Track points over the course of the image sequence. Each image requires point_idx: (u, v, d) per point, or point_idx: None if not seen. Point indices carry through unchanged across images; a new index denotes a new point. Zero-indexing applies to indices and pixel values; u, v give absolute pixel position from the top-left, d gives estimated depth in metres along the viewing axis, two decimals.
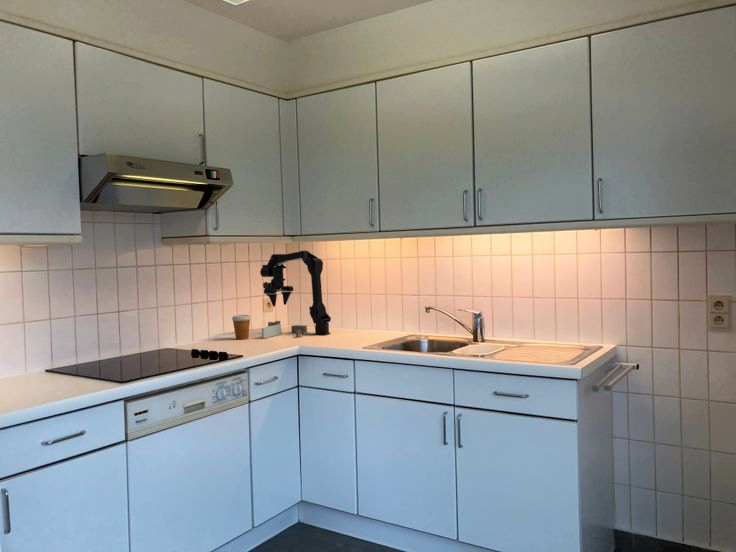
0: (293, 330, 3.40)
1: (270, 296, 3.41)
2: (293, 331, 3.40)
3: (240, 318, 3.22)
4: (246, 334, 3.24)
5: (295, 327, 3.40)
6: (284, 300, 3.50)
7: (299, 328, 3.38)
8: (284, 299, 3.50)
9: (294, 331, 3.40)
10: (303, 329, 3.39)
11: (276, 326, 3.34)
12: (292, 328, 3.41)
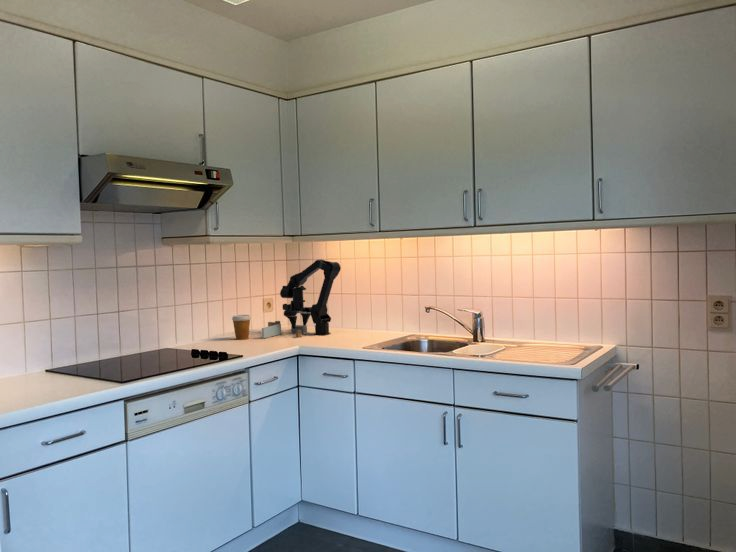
0: (293, 330, 3.40)
1: (290, 318, 3.36)
2: (293, 331, 3.40)
3: (240, 318, 3.22)
4: (246, 334, 3.24)
5: (295, 327, 3.39)
6: (304, 322, 3.45)
7: (299, 328, 3.38)
8: (304, 321, 3.45)
9: (294, 331, 3.40)
10: (303, 329, 3.39)
11: (276, 326, 3.34)
12: (292, 328, 3.40)
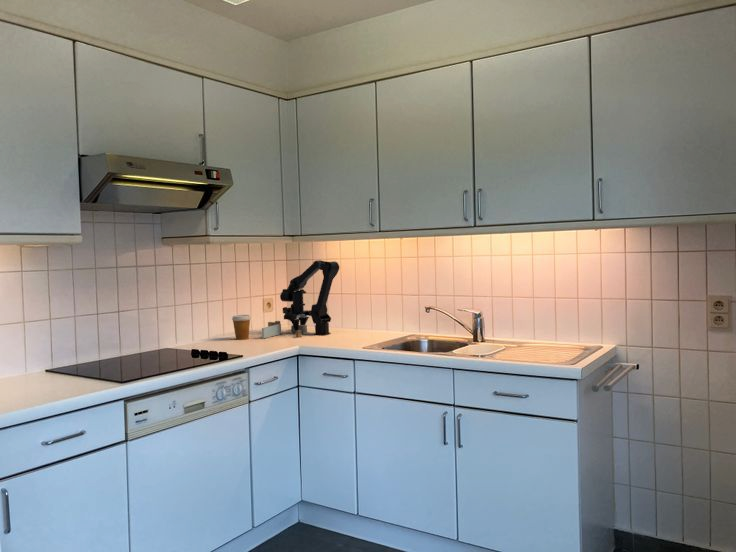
0: (293, 330, 3.40)
1: (292, 321, 3.38)
2: (293, 331, 3.40)
3: (240, 318, 3.22)
4: (246, 334, 3.24)
5: None
6: None
7: (299, 328, 3.38)
8: (301, 324, 3.43)
9: (294, 331, 3.40)
10: (303, 329, 3.39)
11: (276, 326, 3.34)
12: (292, 328, 3.40)
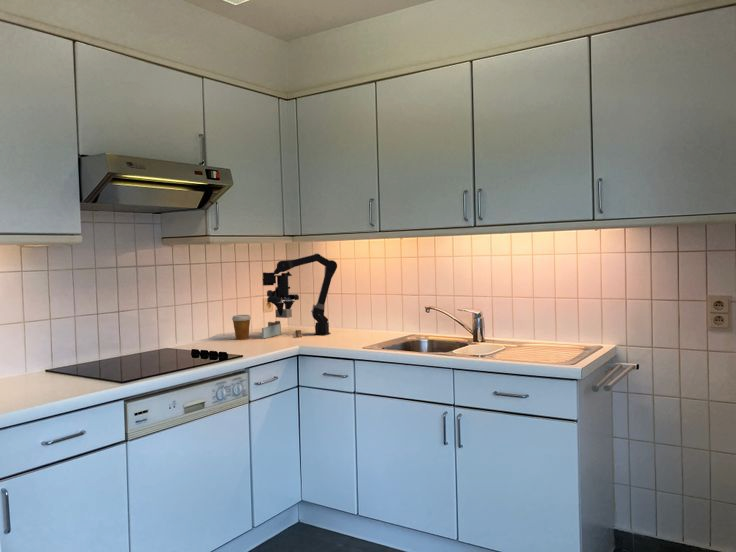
0: (277, 314, 3.27)
1: (277, 305, 3.25)
2: (277, 315, 3.27)
3: (240, 318, 3.22)
4: (246, 334, 3.24)
5: None
6: None
7: (284, 312, 3.25)
8: None
9: (278, 315, 3.27)
10: (288, 313, 3.26)
11: (276, 326, 3.34)
12: (276, 312, 3.28)
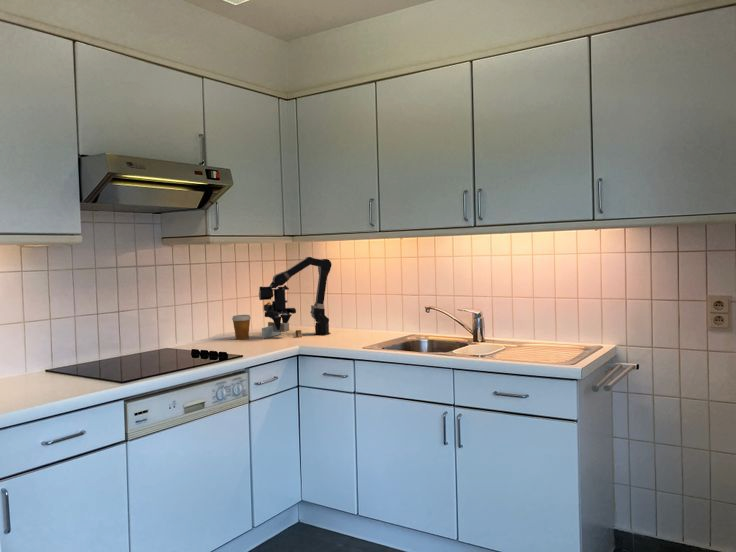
0: (274, 328, 3.24)
1: (274, 319, 3.22)
2: (274, 329, 3.24)
3: (240, 318, 3.22)
4: (246, 334, 3.24)
5: None
6: None
7: (281, 326, 3.22)
8: (283, 322, 3.27)
9: (276, 329, 3.24)
10: (285, 327, 3.23)
11: None
12: (273, 326, 3.24)
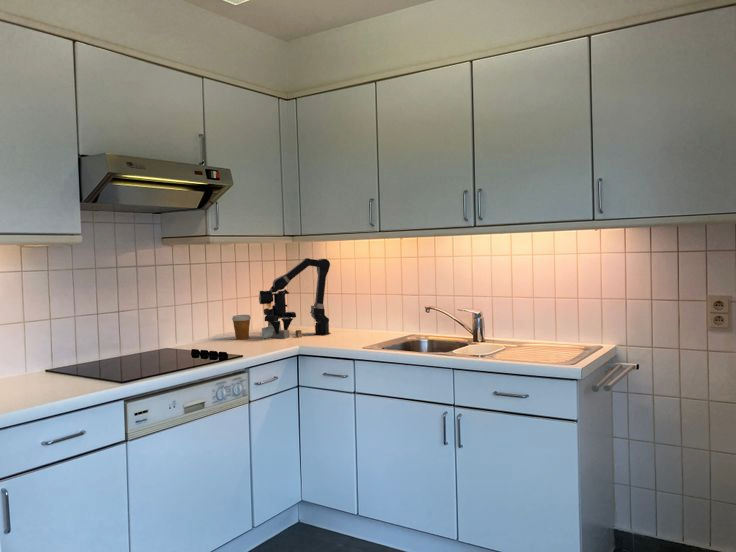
0: (275, 335, 3.24)
1: (273, 323, 3.21)
2: (275, 336, 3.24)
3: (240, 318, 3.22)
4: (246, 334, 3.24)
5: None
6: (285, 327, 3.28)
7: (281, 333, 3.22)
8: (285, 326, 3.28)
9: (276, 336, 3.24)
10: (285, 334, 3.23)
11: None
12: (274, 333, 3.25)
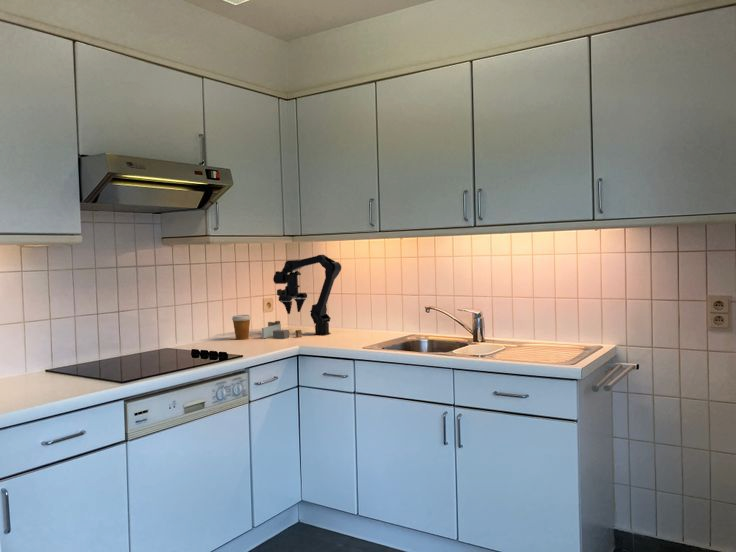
0: (275, 335, 3.24)
1: (285, 303, 3.33)
2: (275, 336, 3.24)
3: (240, 318, 3.22)
4: (246, 334, 3.24)
5: (277, 332, 3.24)
6: (298, 307, 3.43)
7: (281, 333, 3.22)
8: (298, 306, 3.43)
9: (276, 336, 3.24)
10: (286, 334, 3.23)
11: (276, 326, 3.34)
12: (274, 333, 3.25)
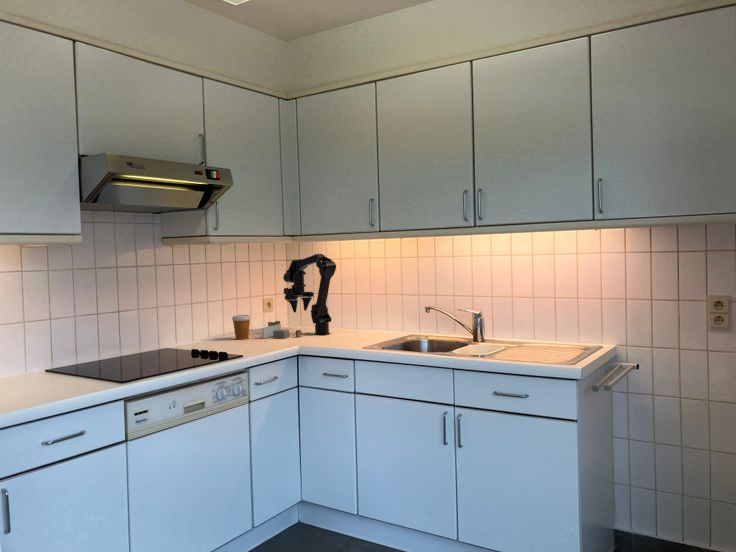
0: (275, 335, 3.24)
1: (291, 302, 3.40)
2: (275, 336, 3.24)
3: (240, 318, 3.22)
4: (246, 334, 3.24)
5: (277, 332, 3.24)
6: (304, 306, 3.49)
7: (281, 333, 3.22)
8: (304, 305, 3.49)
9: (276, 336, 3.24)
10: (286, 334, 3.23)
11: (276, 326, 3.34)
12: (274, 333, 3.25)
